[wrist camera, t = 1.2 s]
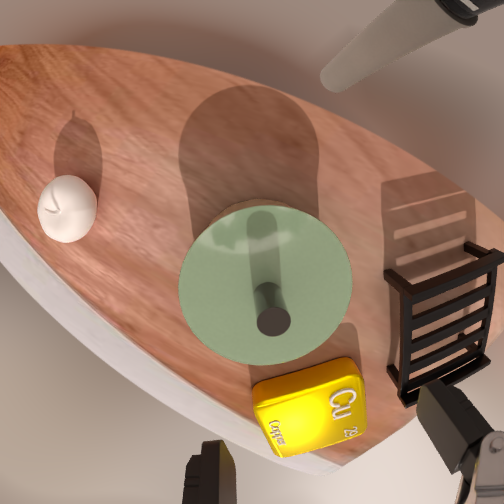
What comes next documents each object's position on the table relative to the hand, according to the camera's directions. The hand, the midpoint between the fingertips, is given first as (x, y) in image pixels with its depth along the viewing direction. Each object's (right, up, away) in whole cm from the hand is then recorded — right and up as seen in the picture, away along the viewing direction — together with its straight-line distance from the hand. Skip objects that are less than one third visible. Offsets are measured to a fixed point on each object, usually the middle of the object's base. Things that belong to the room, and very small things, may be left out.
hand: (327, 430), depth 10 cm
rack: (+23, -2, +27) cm, 35 cm away
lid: (-2, +3, +15) cm, 16 cm away
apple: (-22, +12, +21) cm, 33 cm away
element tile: (+6, -16, +31) cm, 35 cm away
